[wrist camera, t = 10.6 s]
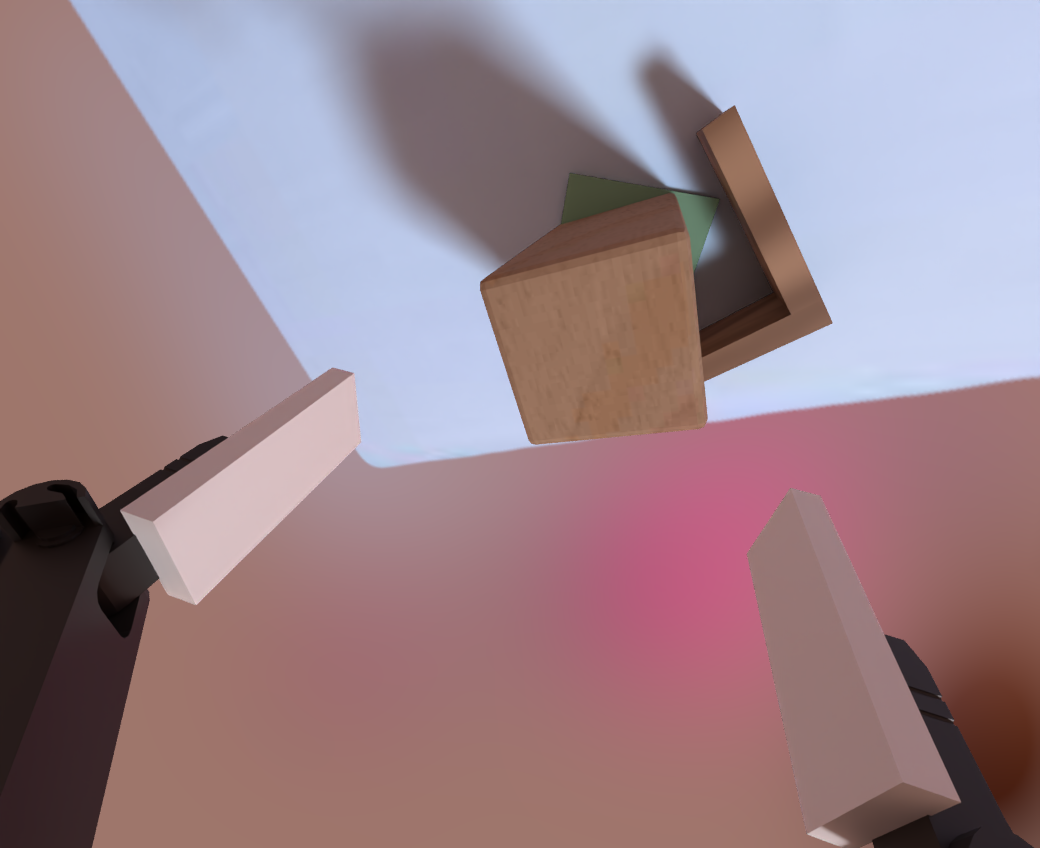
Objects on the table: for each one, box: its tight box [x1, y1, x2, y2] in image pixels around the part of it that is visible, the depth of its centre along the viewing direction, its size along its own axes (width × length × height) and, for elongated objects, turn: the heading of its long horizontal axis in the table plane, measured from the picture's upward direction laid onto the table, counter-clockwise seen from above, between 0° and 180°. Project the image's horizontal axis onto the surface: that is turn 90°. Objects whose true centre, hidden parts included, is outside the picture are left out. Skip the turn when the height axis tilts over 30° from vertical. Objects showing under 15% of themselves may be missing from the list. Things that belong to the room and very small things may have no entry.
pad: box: [561, 173, 720, 274], centre depth 38 cm, size 12×12×1 cm
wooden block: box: [480, 193, 708, 445], centre depth 30 cm, size 10×10×20 cm
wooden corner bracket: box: [696, 105, 832, 381], centre depth 36 cm, size 16×20×6 cm
